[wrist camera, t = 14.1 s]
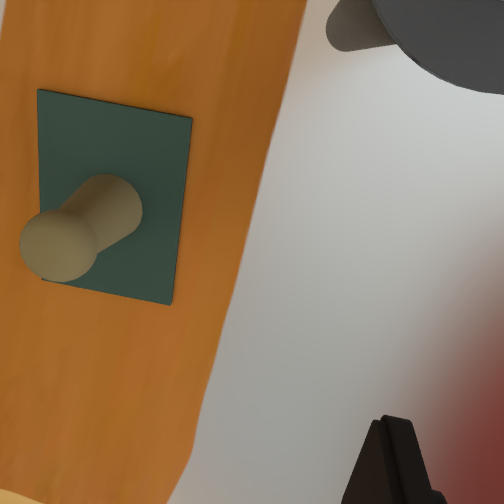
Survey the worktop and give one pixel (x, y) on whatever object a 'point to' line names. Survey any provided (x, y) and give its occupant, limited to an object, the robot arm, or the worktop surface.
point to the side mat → (128, 168)
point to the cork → (80, 228)
